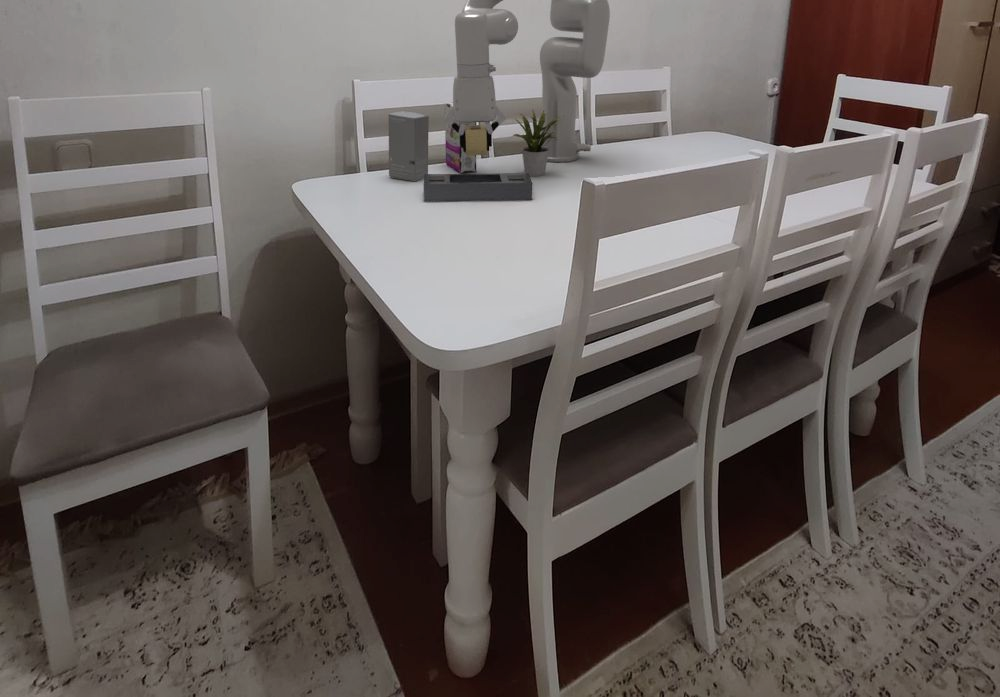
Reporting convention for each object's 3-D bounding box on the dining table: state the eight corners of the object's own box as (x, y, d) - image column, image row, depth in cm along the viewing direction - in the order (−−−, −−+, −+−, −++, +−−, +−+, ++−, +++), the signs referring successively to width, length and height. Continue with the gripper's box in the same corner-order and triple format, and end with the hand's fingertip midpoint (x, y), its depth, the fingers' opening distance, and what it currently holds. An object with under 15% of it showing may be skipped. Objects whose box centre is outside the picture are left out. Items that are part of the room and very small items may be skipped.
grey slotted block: (527, 189, 173) (528, 172, 171) (532, 199, 165) (532, 181, 163) (424, 190, 171) (424, 173, 169) (424, 201, 163) (423, 183, 161)
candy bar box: (477, 172, 187) (477, 107, 180) (460, 174, 186) (459, 108, 178) (462, 162, 196) (461, 100, 189) (445, 164, 194) (443, 102, 187)
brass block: (485, 149, 176) (485, 123, 173) (487, 154, 171) (486, 128, 168) (465, 150, 175) (464, 124, 172) (466, 155, 171) (465, 129, 168)
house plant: (565, 182, 179) (568, 115, 171) (510, 181, 179) (511, 114, 172) (562, 168, 192) (565, 105, 184) (510, 167, 192) (511, 104, 184)
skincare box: (388, 178, 181) (384, 114, 174) (404, 172, 187) (401, 109, 179) (416, 182, 178) (413, 117, 170) (431, 176, 183) (429, 112, 176)
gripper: (508, 67, 168) (509, 144, 177) (436, 69, 167) (441, 147, 176) (511, 72, 161) (512, 152, 170) (436, 75, 160) (441, 155, 169)
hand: (476, 149), depth 173 cm, fingers closed on brass block, 5 cm apart
